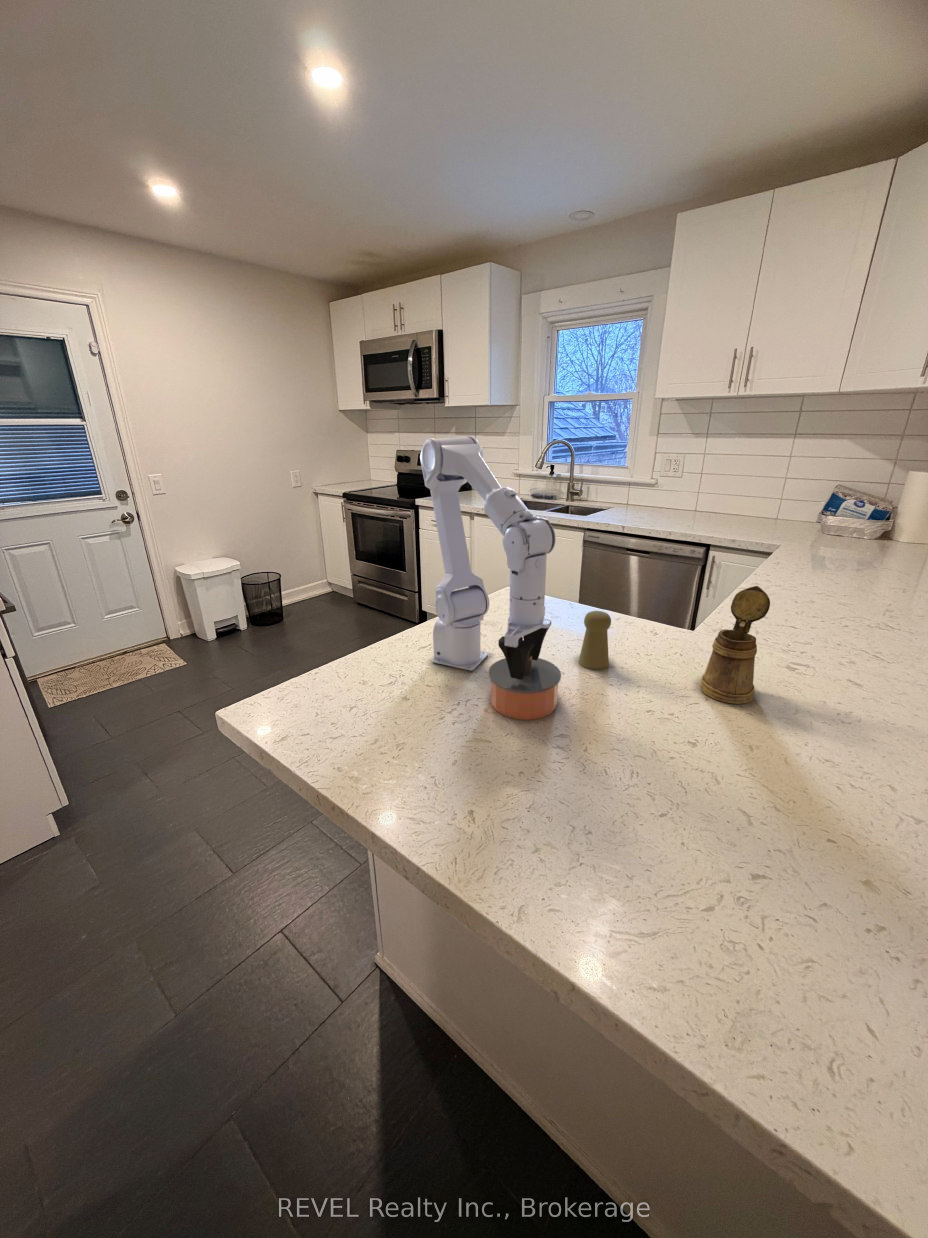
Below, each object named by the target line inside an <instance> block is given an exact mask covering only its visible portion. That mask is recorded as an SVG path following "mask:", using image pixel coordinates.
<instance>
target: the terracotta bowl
mask: <svg viewBox="0 0 928 1238" xmlns="http://www.w3.org/2000/svg"><path fill="white" fill-rule="evenodd" d="M558 693H559V684H558V685H556V686H555V687H554V688H552V689H550V690H547V691H544V692H539V693H516V692H511V691H507V690H504V689H502V688H500V687H498V686H496V685H495V684H494V683H493V682H492V681H491V680H490V695H491V696H490V702H491V705H492V707H493V708H494V709H495V711H496V712H498V713H499V714H502V715H503V716H505V717H508V718H511V719H515V720H523V721H524V720H526V721H527V720H537V719H542V718H544V717H546V716H548V715H551V714H552V713H553V712H554V711H555V709H556V707H557V704H558Z"/></svg>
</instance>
